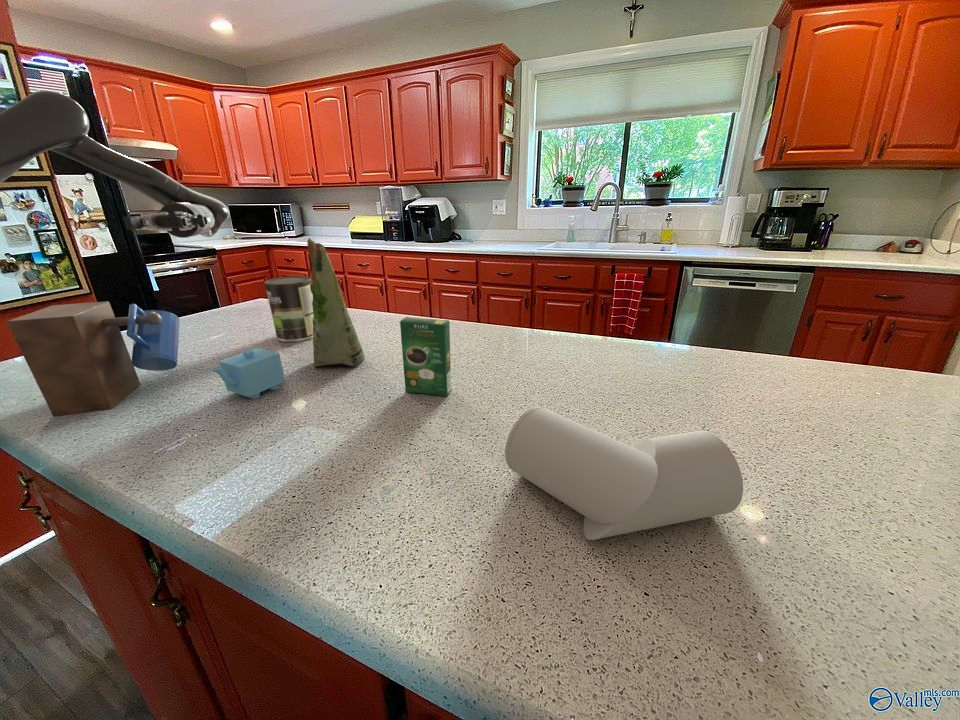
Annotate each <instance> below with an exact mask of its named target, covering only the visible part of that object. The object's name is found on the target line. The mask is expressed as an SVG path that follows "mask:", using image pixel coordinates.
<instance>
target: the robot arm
mask: <svg viewBox="0 0 960 720" xmlns="http://www.w3.org/2000/svg"><path fill="white" fill-rule="evenodd" d="M89 119H90V118H89V117H88V114H87V113H86V111H85V109H84V108H83V107H82V105H80V104H79V103H78V102H77V101H76V100H74V99H72V98H71V97H70V96H67V95H65V94H62V93H60V92H56V91H51V90H37V91H34V92H31V93H30V94H28V95H27V96H26V97H24V98H22V99H21V100H20V101H18V102H16V103H14V104H13V105H11V106H10V107H8V108H7V109H4V110H3V111H1V112H0V184H2V183H3V182H5V181H6V180H8V179H9V178H10V177H12V176H13V175H14V174H16V173H17V172H18V171H19V170H21V168H23V167H25V165H27V164H29V162H30V161H32V160H33V159H34V158H36V157H38V156H40V155H41V154H44V153H46V152H48V151H52V152H54V153H57V154H59V155H62V156H64V157H66V158H69V159H70V160H73V161H76V162H78V163H80V164H82V165H84V166H86V167H89V168H90V169H92V170H95V171H97V172H99V173H101V174H103V175H105V176H107V177H110V178H112V179H113V180H116V181H118V182H120V183H122V184H124V185H126V186H128V187H130V188H131V189H133V190H134V191H136V192H138V193H140V194H142V195H143V196H145V197H147V198H149V199H151V200H152V201H154V202H155V203H157V204H159V205H161V206H162V207H161V209H160V210H159V211H157V212H153V213H152V212H151V213H143V215H141V214H138V215H133V216H129V215H125V216H123V220H124V223H125V226H126V229H127V230H130V231H134V230H139V231H142V230H148V231H149V232H155V231H156V232H157V231H162V232H167V233H168V234H170V235H171V236H173V237H176V238H180V239H187V238H190V237H191V238H192V237H196V236H199V235H200V236H201V237H205V238H212V237H214V236H215V235H216V234H217V233H218V232H219V230H220V229H221V228H222V227H223V225H224V224H225V223H226V222H227V220H228V219H229V218H230V210H229V208H228V206H226V205H225V203H223V202H222V201H220V200H219V199H216V198H215V197H212V196H209V195H206V194H203V193H200V192H197V191H195V190H193V189H191V188H188V187H187V186H185V185H183V184H181V183H180V182H178V181H177V180H175V179H173V178H172V177H171V176H169V175H168V174H165V173H163V172H162V171H160V170H159V169H157V168H155V167H153V166H151V165H149V164H146V163H144V162H142V161H139V160H137V159H134V158H131V157H128V156H126V155H123V154H121V153H119V152H116V151H114V150H112V149H111V148H108V147H106V146H105V145H103V144H101V143H99V142H97V141H96V140H94V139H93V138H91V137H90V136H88V133H89V130H90V120H89Z"/></svg>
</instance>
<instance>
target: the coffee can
mask: <svg viewBox="0 0 960 720" xmlns="http://www.w3.org/2000/svg"><path fill="white" fill-rule="evenodd" d="M263 283H264V284H263V285H264V287H265V291H266V295H267V300H268V304H269V309H270V313H271V317H272V321H273V326H274V331H275V335H276V340H277V341H278V342H282V343H299V342H304V341H309V340H312V339H314V337H313V306H312V301H313V294H312V292H311V289H310V284H311V283H312V277H310V276H304V275H292V276H282V277H275V278H271V279H267V280H266V281H264V282H263Z"/></svg>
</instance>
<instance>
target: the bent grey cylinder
mask: <svg viewBox="0 0 960 720" xmlns="http://www.w3.org/2000/svg"><path fill="white" fill-rule="evenodd" d="M504 459H505V464H506V465H507V467H508V468H509V469H510V470H511V471H513V472H514V473H516V474H517V475H519V476H520V477H522V478H524V479H525V480H527V481H528V482H530V483H531V484H533V485H535V486H536V487H538V488H540V489H541V490H543V491H544V492H546V493H547V494H548V495H550V496H552V497H554V498H555V499H557V500H559V501H560V502H562V503H563V504H565V505H567V506H568V507H569V508H571V509H573V510H574V511H576V512H577V513H579V514H580V515H582V516H583V517H584V519H583V525H582V526H583V527H582V529H583V535H584V537H585V539H587V540H590V541H595V540H599V539H605V538H609V537H615V536H620V535H624V534H625V535H626V534H629V533H635V532H639V531H644V530H650V529H655V528H660V527H665V526H669V525H675V524H681V523H685V522H689V521H696V520H700V519H705V518H710V517H715V516H720V515H726V514H730V513H732V512H734V511H735V510H736V509H738V507H739V505H740V504H741V501H742V498H743V494H744V480H743V475H742V471H741V467H740V465H739V463H738V461H737V459H736V457H735V455H734V453H733V452H732V450H731V449H730V448H729V446H728V445H727V444H726V443H725V442H724V441H723V440H722V439H721V438H720V437H718V436H716V435H715V434H714V433H711V432H709V431H705V430H696V431H695V430H694V431H690V432H689V431H688V432H682V433H676V434H669V435H663V436H662V435H661V436H656V437H649V438H644V439H641V440H639V441H637V442H636V443H634V444H632V445H631V446H630V445H628V444H626V443H624V442H621V441H619V440H617V439H615V438H613V437H610V436H608V435H605V434H604V433H601V432H599V431H597V430H594V429H593V428H590V427H589V426H585V425H584V424H581V423H579V422H577V421H574V420H572V419H570V418H568V417H566V416H563V415H562V414H559V413H557V412H555V411H552V410H550V409H549V408H546V407H543V406H533V407H531V408H529V409H527V410H526V411H524V413H522V414H521V416H519V418H518V419H517V420H516V421H515V422H514V424H513V426H512V428H511V429H510V432H509V434H508V437H507V438H506V443H505V449H504Z"/></svg>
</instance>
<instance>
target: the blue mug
mask: <svg viewBox="0 0 960 720" xmlns="http://www.w3.org/2000/svg"><path fill="white" fill-rule="evenodd" d="M128 307H129V308H128V316H127V317H128V325H126V326H127V327H126V336H127V337H128V338H129V339H131V340H132V341H133V343H132V353H131V354H132V355H131V360H132V365H133V366H134V368H137V369H139V370H144V371H150V372H151V371H154V372H160V371H169V370H172V369H175V368H177V366H178V362H179V361H178V358H179V341H180V322H181V319H180V317H178V315H176V314H174V313H172V312H170V311H166V310H159V309H147V310H143V309H142V308H140V307H139V306H138V305H137V304H136V303H131V304H129V306H128ZM151 312H155V313H158V314H159V315H160V316H161V317H162V321H161V322H160V323H159V324H157V325H151V324H149V323H145V324H136V316H143V315H147V314H148V313H151Z"/></svg>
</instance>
